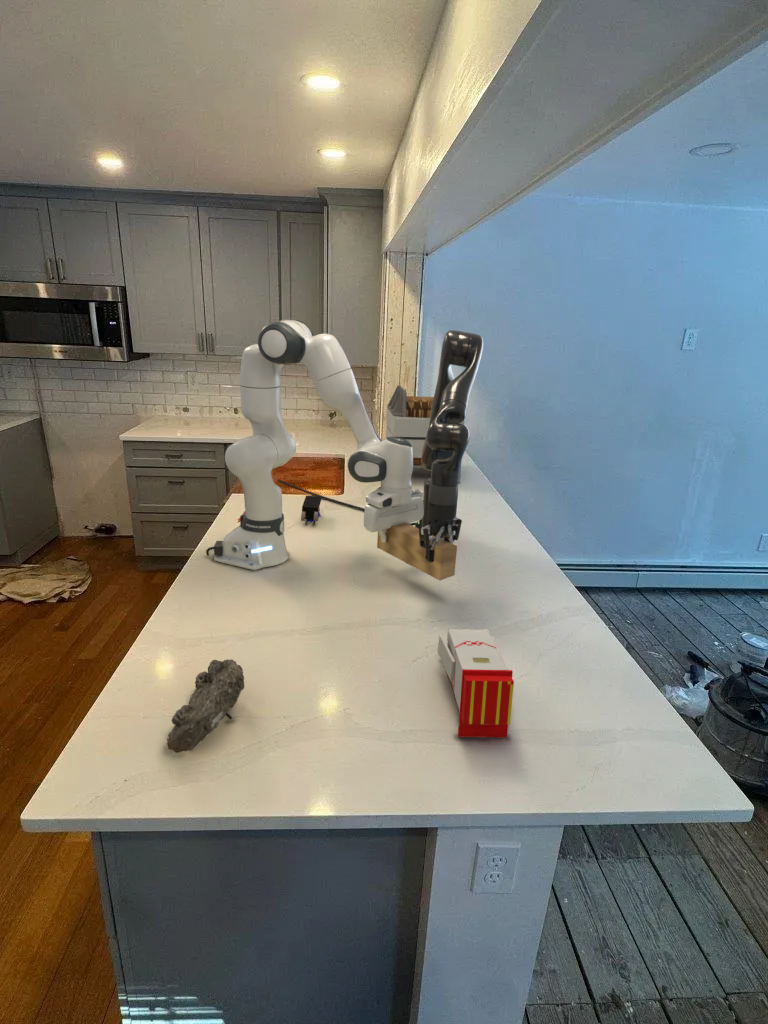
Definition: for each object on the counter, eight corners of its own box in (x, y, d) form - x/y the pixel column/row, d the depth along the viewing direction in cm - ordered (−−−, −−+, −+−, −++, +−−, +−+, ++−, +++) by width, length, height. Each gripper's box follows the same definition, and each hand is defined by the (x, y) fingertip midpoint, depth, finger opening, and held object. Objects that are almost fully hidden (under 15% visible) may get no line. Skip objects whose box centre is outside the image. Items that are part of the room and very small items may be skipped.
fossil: (192, 660, 117) (244, 628, 112) (224, 691, 120) (276, 661, 115) (142, 746, 98) (202, 712, 93) (182, 779, 101) (242, 748, 96)
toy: (488, 613, 130) (523, 677, 101) (484, 667, 133) (517, 744, 104) (435, 612, 130) (455, 676, 101) (432, 666, 133) (451, 743, 103)
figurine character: (319, 531, 202) (322, 512, 216) (318, 512, 199) (322, 494, 212) (300, 530, 202) (304, 511, 216) (299, 511, 199) (304, 493, 212)
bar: (454, 575, 153) (457, 545, 150) (439, 580, 149) (442, 550, 146) (391, 543, 172) (392, 516, 169) (377, 547, 168) (378, 520, 165)
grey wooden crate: (382, 463, 289) (386, 382, 275) (445, 464, 293) (451, 384, 279) (390, 482, 257) (394, 392, 243) (460, 483, 261) (468, 394, 247)
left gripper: (415, 485, 170) (412, 528, 174) (361, 497, 157) (359, 543, 162) (429, 491, 165) (426, 535, 170) (375, 503, 153) (373, 550, 157)
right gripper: (451, 491, 154) (446, 548, 160) (412, 500, 145) (408, 560, 151) (472, 498, 149) (466, 557, 154) (433, 508, 140) (428, 570, 145)
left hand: (393, 539), depth 166 cm, fingers closed on bar, 5 cm apart
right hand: (438, 558), depth 153 cm, fingers closed on bar, 5 cm apart
